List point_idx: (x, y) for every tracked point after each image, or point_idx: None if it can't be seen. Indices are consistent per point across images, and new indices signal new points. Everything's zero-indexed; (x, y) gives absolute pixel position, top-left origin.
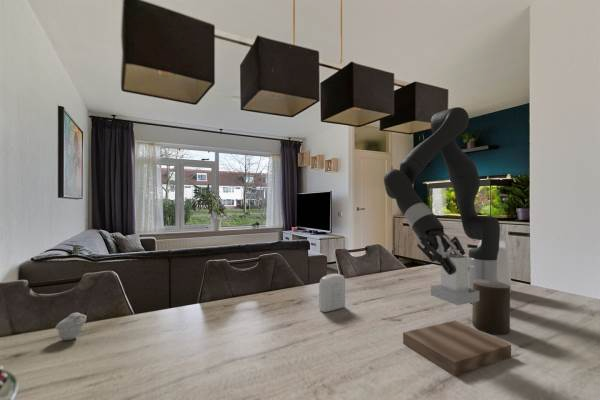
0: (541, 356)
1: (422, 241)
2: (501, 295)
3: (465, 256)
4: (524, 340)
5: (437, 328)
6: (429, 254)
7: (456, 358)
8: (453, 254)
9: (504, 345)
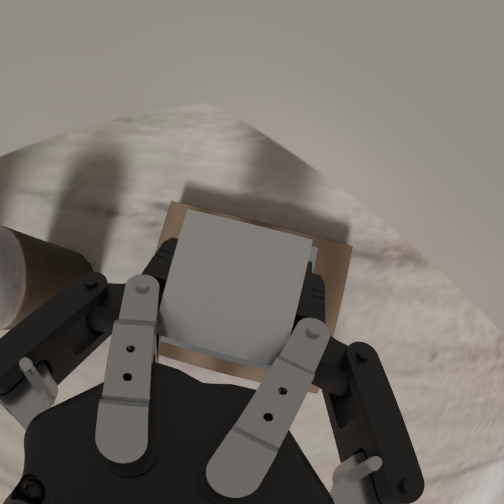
0: (131, 175)
1: (421, 480)
2: (30, 240)
3: (184, 230)
4: (80, 218)
5: None
6: (347, 417)
7: (336, 251)
8: (173, 322)
9: (187, 208)
